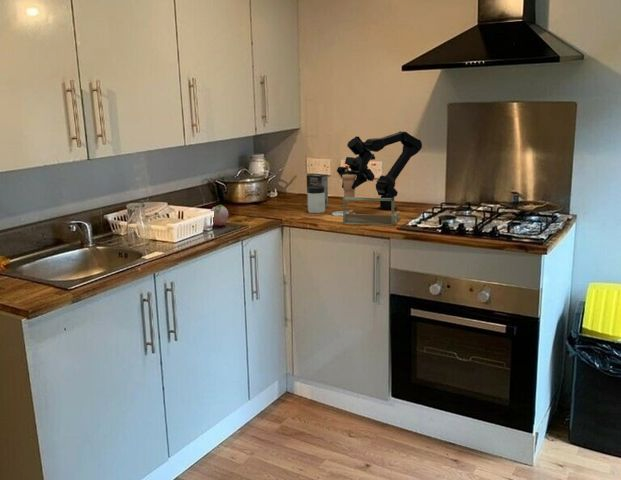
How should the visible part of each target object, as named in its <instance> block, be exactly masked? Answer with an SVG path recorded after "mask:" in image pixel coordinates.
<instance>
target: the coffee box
mask: <svg viewBox="0 0 621 480" xmlns="http://www.w3.org/2000/svg"><path fill="white" fill-rule="evenodd" d="M328 177H329V175H328V174H322V173H320V174H319V173H310V174H307V175H306V207H307V208H308V189H307V187H309V186H324V189H325V190H324V191H325V192H324V193H325V208H326V207H329V193H328V192H329V189H328V188H329V187H328V186H329V185H328V184H329V182H328V181H329V180H328Z"/></svg>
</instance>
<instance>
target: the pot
mask: <svg viewBox="0 0 621 480" xmlns="http://www.w3.org/2000/svg"><path fill="white" fill-rule="evenodd" d="M356 178H357V176H356V174H343V175H342V177H341V179H342V182H343V188H342V189H343V195H344V196H343V197H356V195H355V194H356V192H355V191H356V188H355V189H352V186H353V183H354V182H355V180H356ZM355 201H356V200H346V203H348V202H349V203H350V202H355Z"/></svg>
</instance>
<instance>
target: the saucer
mask: <svg viewBox="0 0 621 480" xmlns="http://www.w3.org/2000/svg"><path fill="white" fill-rule="evenodd" d="M349 211H350V210H346V213H348V212H349ZM354 214H356V212H355V211H354ZM331 216H333V217H338V216H342V217H343V210H337V211H333V212H331Z"/></svg>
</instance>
